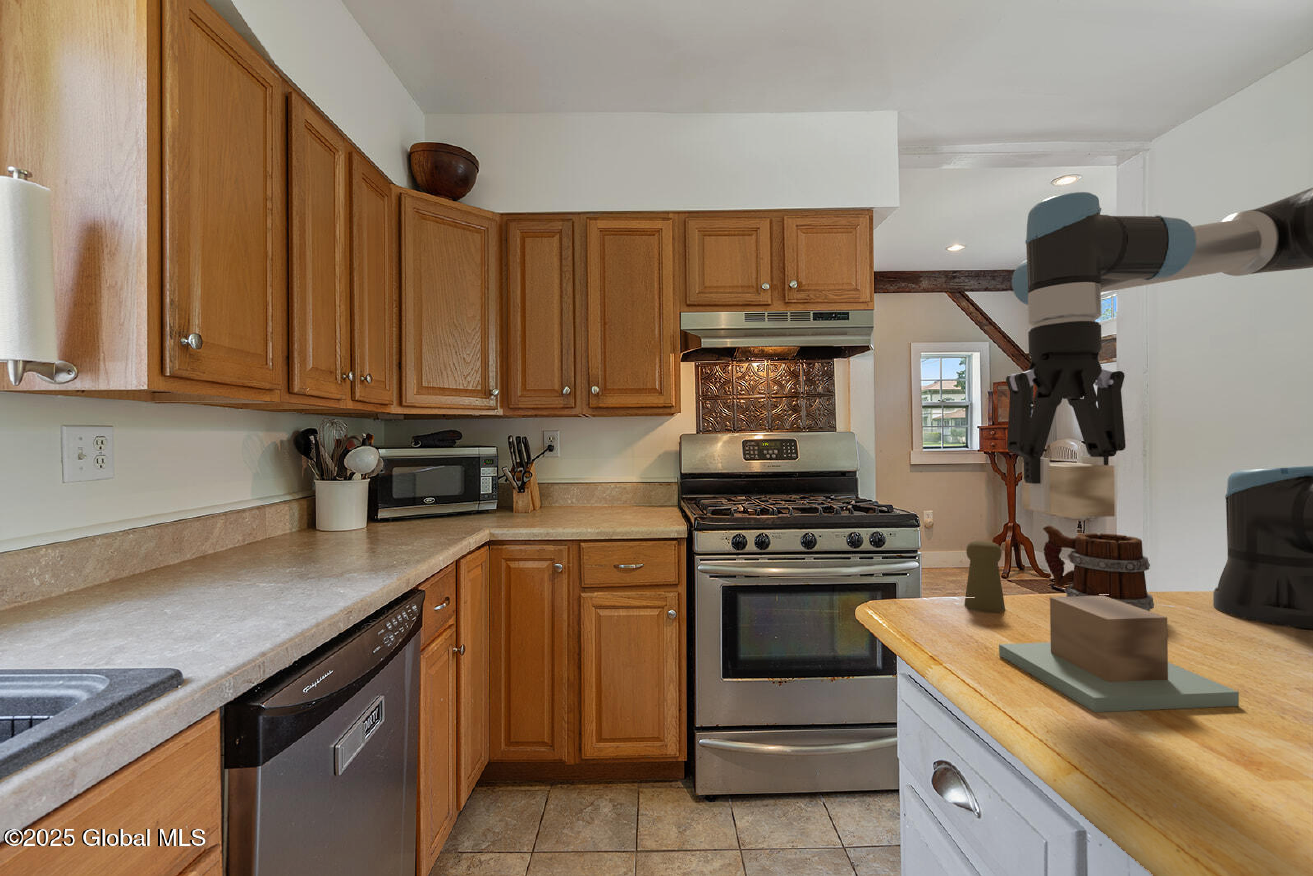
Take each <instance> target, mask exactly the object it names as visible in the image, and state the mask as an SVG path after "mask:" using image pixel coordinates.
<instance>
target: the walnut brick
mask: <svg viewBox="0 0 1313 876" xmlns="http://www.w3.org/2000/svg"><path fill="white" fill-rule="evenodd" d="M1049 619H1050V620H1049V621H1050V624H1049V625H1050V629H1049V631H1050V633H1049V634H1050V642H1051V653H1053V654H1055V655H1057V656H1059V657H1061V658H1063V659H1064V660H1066V661H1068V662H1070V663H1072V664H1074V665H1076V666H1078V667H1080V668H1082V669H1084V670H1086V671H1088V672H1090V673H1091V674H1093V675H1095V676H1097V677H1099V678H1101V679H1103V680H1105V681H1107V682H1120V681H1147V680H1168V662H1169V660H1168V659H1169V656H1168V653H1169V652H1168V650H1169V648H1168V641H1169V639H1168V616H1164V615H1162V614H1158V613H1157V612H1153V611H1151V610H1150V611H1147V610H1144V609H1141V608H1138V607H1135V606H1132V605H1129V604H1127V603H1124V602H1121V601H1118V600H1115V599H1112V598H1109V597H1106V596H1075V597H1067V596H1050V597H1049Z"/></svg>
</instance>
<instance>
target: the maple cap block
mask: <svg viewBox="0 0 1313 876" xmlns="http://www.w3.org/2000/svg"><path fill="white" fill-rule="evenodd" d="M1021 464H1022V466H1021V467H1022V468H1021V469H1022V471H1021V473H1022V476H1021V477H1022V481H1021V482H1022V484H1021V485H1022V486H1021V487H1022V509H1024V510H1027V511H1032V512H1039V513H1043V514H1047V515H1052V516H1057V517H1062V518H1091V517H1092V518H1097V517H1099V518H1101V517H1102V518H1103V517H1115V514H1116V513H1115V511H1116V509H1115V465H1097V464H1083V463H1080V462H1067V461H1066V462H1065V461H1064V462H1050V465H1049V474H1050V511H1040V510H1034V509H1030V483H1026V482H1025V480H1024V462H1022V463H1021Z"/></svg>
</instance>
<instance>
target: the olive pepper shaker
mask: <svg viewBox="0 0 1313 876" xmlns="http://www.w3.org/2000/svg"><path fill="white" fill-rule="evenodd" d="M1001 548H1002V547H1000V545H999V544H997V543H996V542H992V541H988V540H975V541H970V542H969V543H968V544H967V546H966V549H965V551H966V555H967V558H968V560H970V561H969V566H968V567H969V569H968V576H967V583H966V590H965V597H975V598H965V599H964V607H965V608H967V609H970V610H972V611H977V612H978V611H979V612H985V613H1002V612H1005V611H1006V605H1005V601H1004V600H1005V599H1004V593H1003V587H1002V580H1001V573H1000V568H999V562H1000V560H1001V558H1002V553H1003V552H1002V549H1001Z"/></svg>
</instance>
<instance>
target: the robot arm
mask: <svg viewBox="0 0 1313 876" xmlns="http://www.w3.org/2000/svg"><path fill="white" fill-rule="evenodd" d="M1101 212H1102V208H1101V206H1100V199H1099V197H1098V196H1097V195H1095V194H1094V193H1091V192H1087V191H1080V192H1079V191H1077V192H1069V193H1064V194H1063V193H1062V194H1059V195H1055V196H1052V197H1049V198H1047V199H1044V200H1043V201H1040V202H1038V203H1037V204H1035V205H1034V206H1033V207H1032V208H1031V209H1030V211H1029V212H1028V215H1027V224H1026V237H1025V245H1026V260H1024V261H1022V262H1021V263H1020V264H1019V265H1017V267H1016V268H1015V270H1014V271H1013V274H1012V278H1011V287H1012V291H1013V293H1014V295H1015V297H1016V298H1017V299H1018V300H1019V301H1020V302H1021V303H1022V304H1025V305H1026V306H1028V307H1027V309H1028V310H1027V311H1028V324H1029V325H1030V326H1032V328H1031V329H1030V331H1028V333H1027V334H1028V335H1027V337H1028V356H1029V357H1030V364H1029V366H1028V368H1027V371H1023V372H1019V373H1013V374H1008V375H1007V376H1006V378H1005V381H1006V385H1007V388H1008V391H1009V402H1008V404H1009V405H1008V422H1007V423H1008V424H1007V427H1008V428H1007V445H1006V449H1007V451H1008V452H1009V453H1013V454H1017V455H1018V456H1019V457H1021V458H1022V459H1023V463H1024V480H1025V482H1026V483H1030V509H1034V510H1040V511H1050V474H1049V465H1050V463H1051V460H1050V459H1051V458H1049V457H1043V455H1044V453H1045V448H1046V446H1047V442H1048V438H1049V435H1050V431H1051V428H1052V425H1053V421H1054V418H1055V415H1056V411H1057V408H1058V407H1059V406H1060V404H1061V403H1062V401H1063V399H1064V400H1067V403H1068V404H1069V406H1070V407H1072V409H1073V413H1074V415H1075V418H1076V422H1077V424H1078V427H1079V429H1080V433H1081V436H1082V439H1083V442H1084V445H1085V446H1084V447H1085V448H1086V452H1087V454H1088V455H1089V456H1088V455H1087V456H1085V455H1084V456H1081V458H1080V461H1081V463H1083V464H1097V465H1109V463H1110V461H1109V458H1110V457H1114V456H1116V455H1117V452H1119V451H1120V452H1121V451H1125V449H1126V435H1125V433H1126V432H1125V422H1124V412H1123V411H1124V409H1123V400H1122V399H1123V398H1122V397H1123V396H1122V388H1123V384H1124V380H1125V376H1126V375H1125V373H1124V371H1121V370H1117V371H1111V370H1107V369H1103V368H1102V365H1101V364H1100V361H1099V354H1100V352H1101V351H1102V349H1103V348H1102V345H1103V344H1102V324H1101V323H1100V322H1098V321H1096V320H1098V319H1100V317H1101V316H1102V293H1106V292H1112V291H1118V290H1124V289H1131V288H1135V287H1136V288H1137V287H1141V286H1142V287H1143V286H1149V285H1154V284H1160V283H1166V282H1171V281H1177V280H1178V281H1179V280H1183V279H1189V278H1196V277H1200V276H1206V275H1207V276H1208V275H1213V274H1218V273H1219V274H1220V273H1222V274H1225V275H1228V276H1233V277H1234V276H1235V277H1241V276H1247V275H1253V274H1261V273H1262V274H1263V273H1270V272H1271V273H1272V272H1281V271H1293V270H1303V269H1311V268H1313V187H1311V188H1308V189H1305V190H1303V191H1300V192H1298V193H1295V194H1292V195H1290V196H1288V197H1285V198H1282V199H1280V200H1277V201H1275V202H1272V203H1269V204H1266V205H1263V206H1260V207H1257V208H1254V209H1250V210H1243V211H1238V212H1235V213H1234V214H1233V213H1232V214H1230V215H1228V216H1227V217H1225V218H1224V219H1223V220H1222V221H1217V222H1213V223H1211V222H1210V223H1206V224H1205V223H1204V224H1199V225H1194V226H1193V225H1192V224H1191V223H1189V222H1188V221H1187V220H1184V219H1182V218H1179V217H1168V216H1162V215H1160V214H1159V215H1158V214H1157V215H1153V216H1152V215H1151V216H1150V215H1149V216H1147V215H1146V216H1145V215H1143V216H1142V215H1140V216H1139V215H1130V216H1129V215H1122V216H1121V215H1109V214H1101ZM1032 386H1035V387H1036V392H1035V395H1034V397H1033V401H1032ZM1095 386H1096V390H1095ZM1032 402H1033V404H1034V407H1033V410H1032ZM1031 412H1032V413H1031ZM1224 497H1225V504H1226V505H1225V507H1226V508H1225V511H1226V542H1227V558H1226V559H1227V560H1226V562H1225V566H1224V567H1223V570H1222V573H1221V575H1220V578H1219V580H1218V583H1217V587H1215V588H1214V590H1213V593H1212V597H1213V598H1212V599H1213V601H1212V602H1213V603H1212V605H1213V607H1214V608H1215V609H1217V610H1219V611H1221V612H1223V613H1226V614H1228V615H1232V616H1235V617H1238V618H1243V619H1247V620H1252V621H1257V622H1260V623H1266V624H1271V625H1279V626H1285V627H1290V628H1291V627H1292V628H1301V629H1302V628H1303V629H1312V630H1313V465H1312V466H1311V465H1310V466H1308V465H1307V466H1305V465H1304V466H1289V467H1270V468H1269V467H1268V468H1267V467H1266V468H1255V469H1254V468H1253V469H1252V468H1251V469H1242V470H1241V469H1240V470H1237V471H1234V472H1233V473H1231V474H1230V475H1229V476H1228V478H1227V484H1226V494H1225V495H1224Z"/></svg>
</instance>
